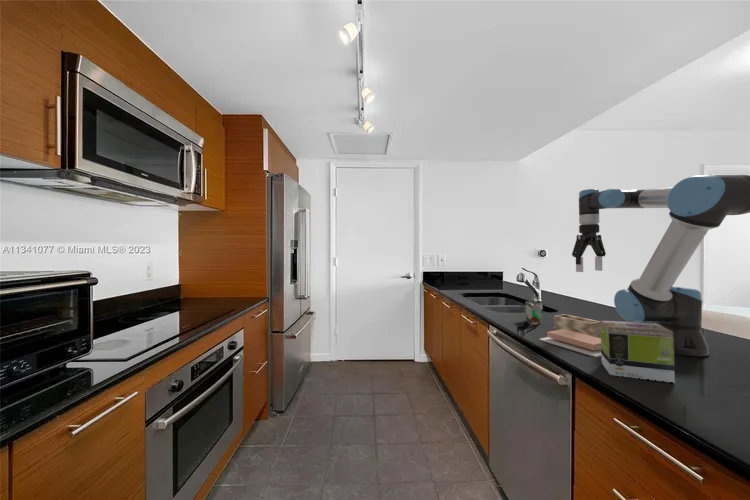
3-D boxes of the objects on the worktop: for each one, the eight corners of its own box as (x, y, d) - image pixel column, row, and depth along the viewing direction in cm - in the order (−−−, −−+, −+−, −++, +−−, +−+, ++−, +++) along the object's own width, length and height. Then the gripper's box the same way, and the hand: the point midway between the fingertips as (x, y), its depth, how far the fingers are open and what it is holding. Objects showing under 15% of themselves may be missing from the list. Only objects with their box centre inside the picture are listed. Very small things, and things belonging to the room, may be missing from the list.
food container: (546, 327, 145) (546, 306, 145) (532, 326, 147) (532, 305, 147) (538, 320, 158) (538, 301, 157) (525, 320, 159) (525, 301, 159)
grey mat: (620, 351, 112) (620, 349, 112) (596, 357, 106) (596, 355, 106) (562, 335, 132) (562, 334, 132) (539, 339, 126) (539, 338, 126)
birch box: (601, 338, 127) (601, 321, 126) (591, 341, 124) (591, 323, 124) (564, 329, 141) (564, 314, 141) (553, 331, 138) (553, 315, 138)
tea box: (660, 371, 94) (660, 323, 94) (675, 384, 85) (675, 331, 85) (600, 363, 100) (600, 318, 100) (608, 375, 91) (608, 326, 91)
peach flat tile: (610, 348, 113) (610, 340, 113) (593, 353, 109) (593, 344, 109) (563, 336, 129) (563, 329, 129) (547, 339, 125) (547, 331, 125)
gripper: (597, 225, 147) (597, 269, 147) (562, 224, 137) (562, 271, 137) (614, 224, 140) (615, 270, 140) (579, 223, 130) (579, 273, 130)
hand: (589, 271), depth 139 cm, fingers open, 13 cm apart
